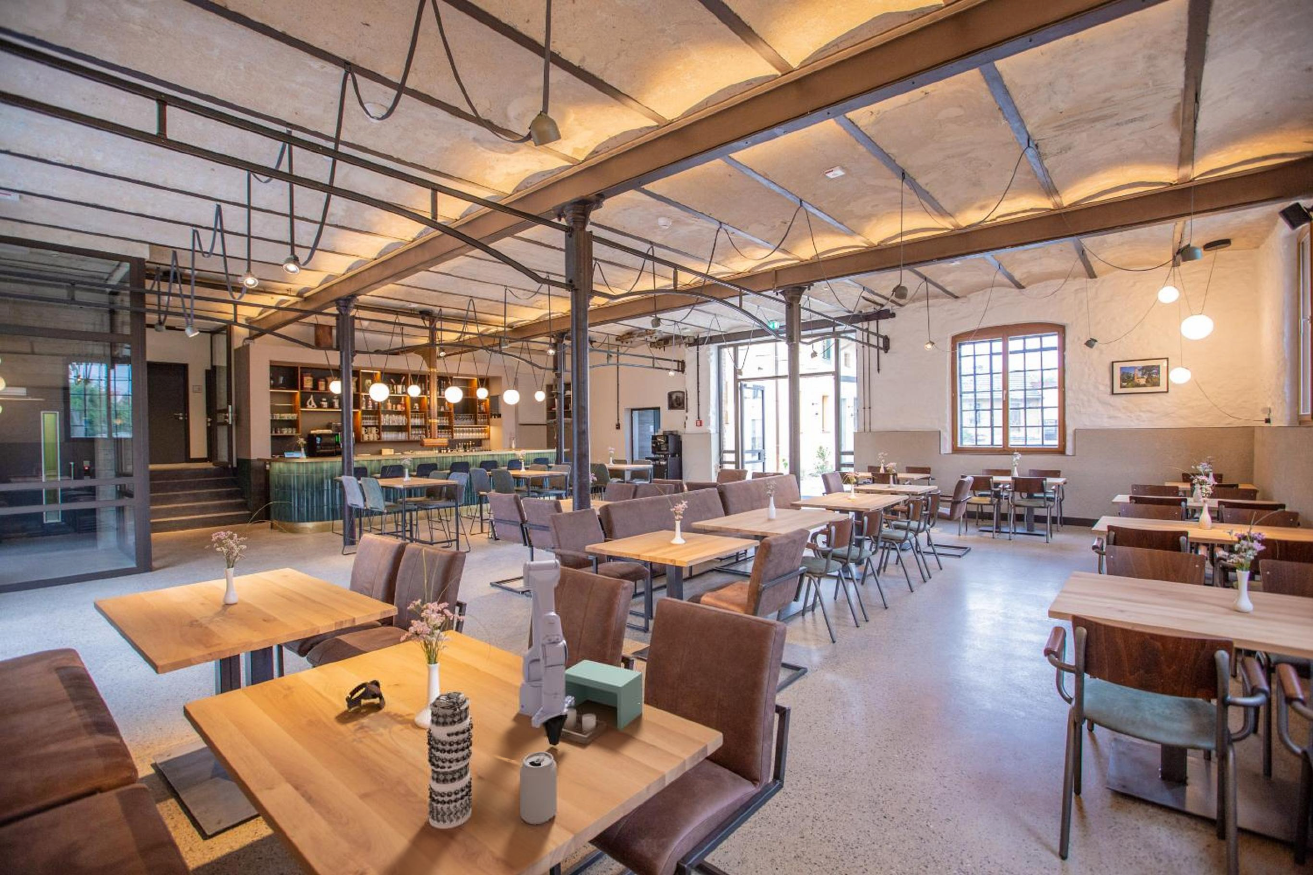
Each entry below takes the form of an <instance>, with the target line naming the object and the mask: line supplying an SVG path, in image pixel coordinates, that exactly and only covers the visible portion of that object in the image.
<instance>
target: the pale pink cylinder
mask: <svg viewBox="0 0 1313 875" xmlns="http://www.w3.org/2000/svg"><path fill="white" fill-rule="evenodd" d="M596 720H597V716H596V714H594V713H585V714H583V715H582V733H583V734H584V735H587V734H589V733H590V732H591V731H593V730H594V729H595V728H596Z"/></svg>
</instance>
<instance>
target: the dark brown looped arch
mask: <svg viewBox="0 0 1313 875" xmlns="http://www.w3.org/2000/svg"><path fill="white" fill-rule="evenodd" d="M362 690H363V691H362ZM360 691H362V692H361V693H359V692H360ZM358 693H359V694H358ZM356 694H358V695H357V696H355V695H356ZM377 699H378V701H379V702H378V705H379V706H380V710H383V709H385V708H384V707H386V701H385V698H384V696H383V692H382V691H381V684H380V681H379V680H377V679H373V680H371V681H370V682H368V681H365V682H362V683H359V684H358V685H357V686H355V687H354V688H353V689H351V690H350V691H349V694H348V695H347V696H346V697H345V702H346V707H347V709H349V710H352V709H354V708H357V707H358V708H362V700H363V701H368V700H377Z"/></svg>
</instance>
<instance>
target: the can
mask: <svg viewBox="0 0 1313 875" xmlns="http://www.w3.org/2000/svg"><path fill="white" fill-rule="evenodd" d="M557 769H558V768H557V763H556V761H555V760H554V755H552V753H550V752H547V751H536V752H532V753H529V754H528V755H526V756H525V757H524V758H523V761H522V764H521V765H520V766H519V781H520V782H519V789H520V790H519V792H520V793H519V797H520V799H519V802H520V803H519V806H520V807H519V810H520V811H519V814H520V817H521V819H522V820H523V821H525V822H526V823H528V824H530V825H536V824H538V825H543V824H545V823H547V822H549V821H550V820H551V819H552V818H553V817H554V816H555V815H556V813H557V809H558V808H557V807H558V804H557V803H558V802H557V801H558V800H557V797H558V796H557V795H558V794H557V789H558V788H557V787H558V786H557V783H558V782H557V778H558V777H557V774H558V773H557V771H558V770H557ZM550 818H551V819H550ZM549 819H550V820H549ZM548 820H549V821H548ZM546 821H547V822H546ZM544 822H545V823H544ZM542 823H543V824H542Z"/></svg>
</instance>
